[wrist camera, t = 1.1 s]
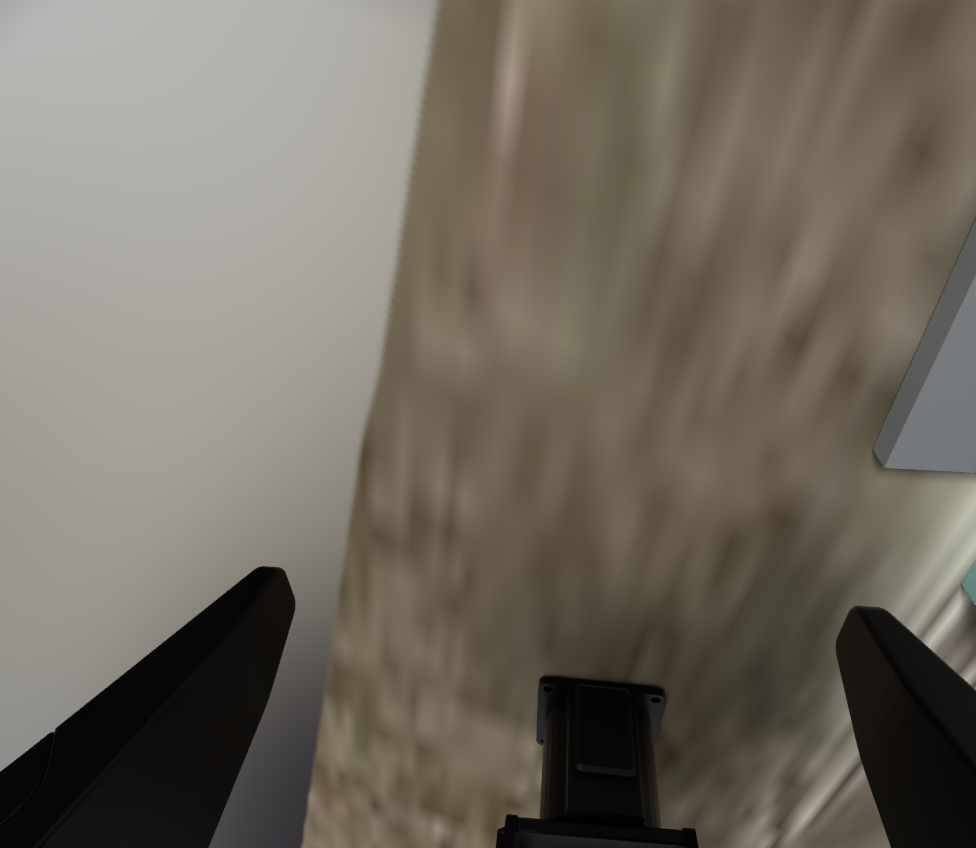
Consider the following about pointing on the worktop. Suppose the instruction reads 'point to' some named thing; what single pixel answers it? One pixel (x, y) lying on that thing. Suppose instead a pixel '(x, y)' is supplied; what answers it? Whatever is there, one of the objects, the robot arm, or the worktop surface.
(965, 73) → the worktop surface
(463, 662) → the worktop surface
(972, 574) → the block
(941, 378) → the pad
